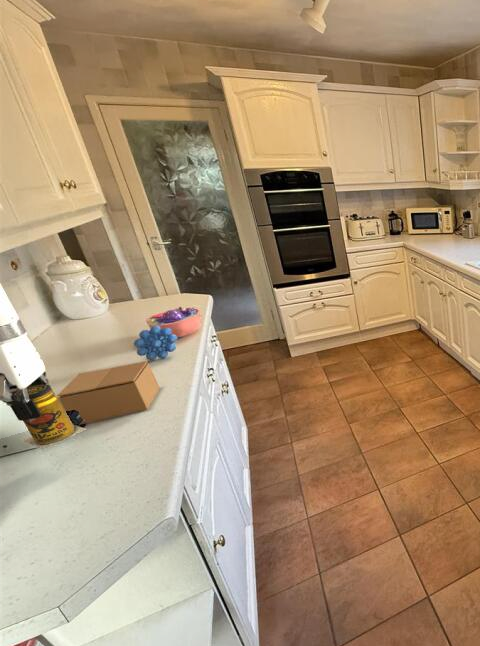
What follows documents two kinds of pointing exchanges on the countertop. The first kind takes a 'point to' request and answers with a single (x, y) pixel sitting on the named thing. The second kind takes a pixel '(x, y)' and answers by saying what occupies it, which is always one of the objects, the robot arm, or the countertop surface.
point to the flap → (85, 381)
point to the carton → (115, 394)
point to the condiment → (48, 419)
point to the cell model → (177, 321)
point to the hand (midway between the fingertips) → (38, 409)
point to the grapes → (155, 342)
